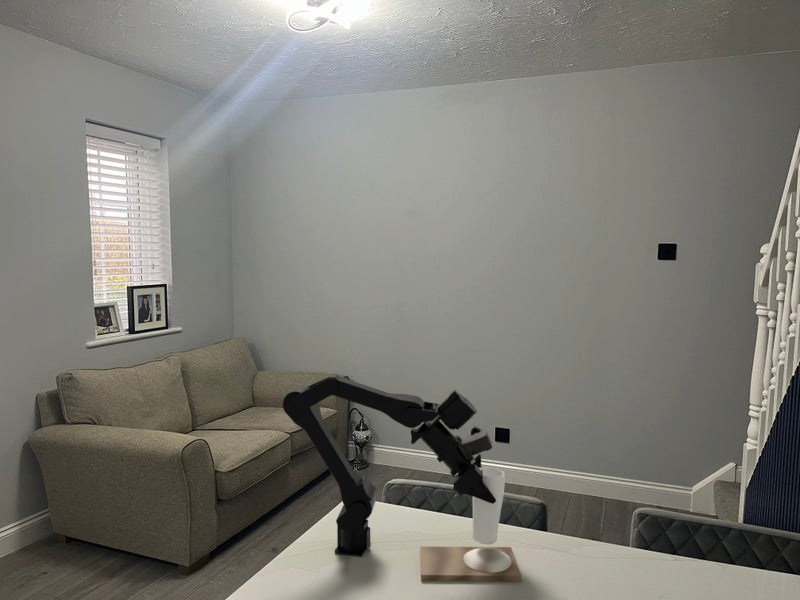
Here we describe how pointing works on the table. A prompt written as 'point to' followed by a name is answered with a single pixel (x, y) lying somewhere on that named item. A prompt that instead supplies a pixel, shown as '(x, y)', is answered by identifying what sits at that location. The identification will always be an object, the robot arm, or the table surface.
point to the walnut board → (468, 564)
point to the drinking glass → (488, 508)
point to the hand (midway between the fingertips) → (493, 495)
